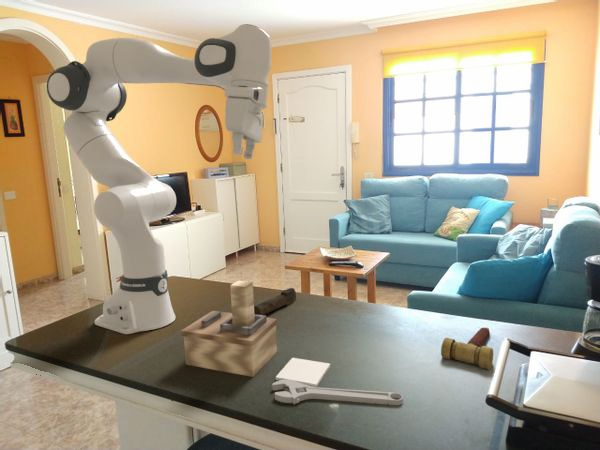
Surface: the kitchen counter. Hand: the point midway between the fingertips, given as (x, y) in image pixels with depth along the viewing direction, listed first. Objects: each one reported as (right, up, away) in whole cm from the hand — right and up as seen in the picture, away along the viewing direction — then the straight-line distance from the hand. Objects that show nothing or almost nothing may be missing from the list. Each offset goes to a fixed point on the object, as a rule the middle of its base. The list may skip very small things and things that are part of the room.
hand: (242, 156), depth 105 cm
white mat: (+14, -48, -11) cm, 51 cm away
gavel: (+55, -45, -1) cm, 71 cm away
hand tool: (+6, -42, +28) cm, 50 cm away
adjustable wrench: (+20, -50, -21) cm, 58 cm away
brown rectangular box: (-2, -47, -3) cm, 47 cm away
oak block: (+1, -39, -6) cm, 39 cm away
